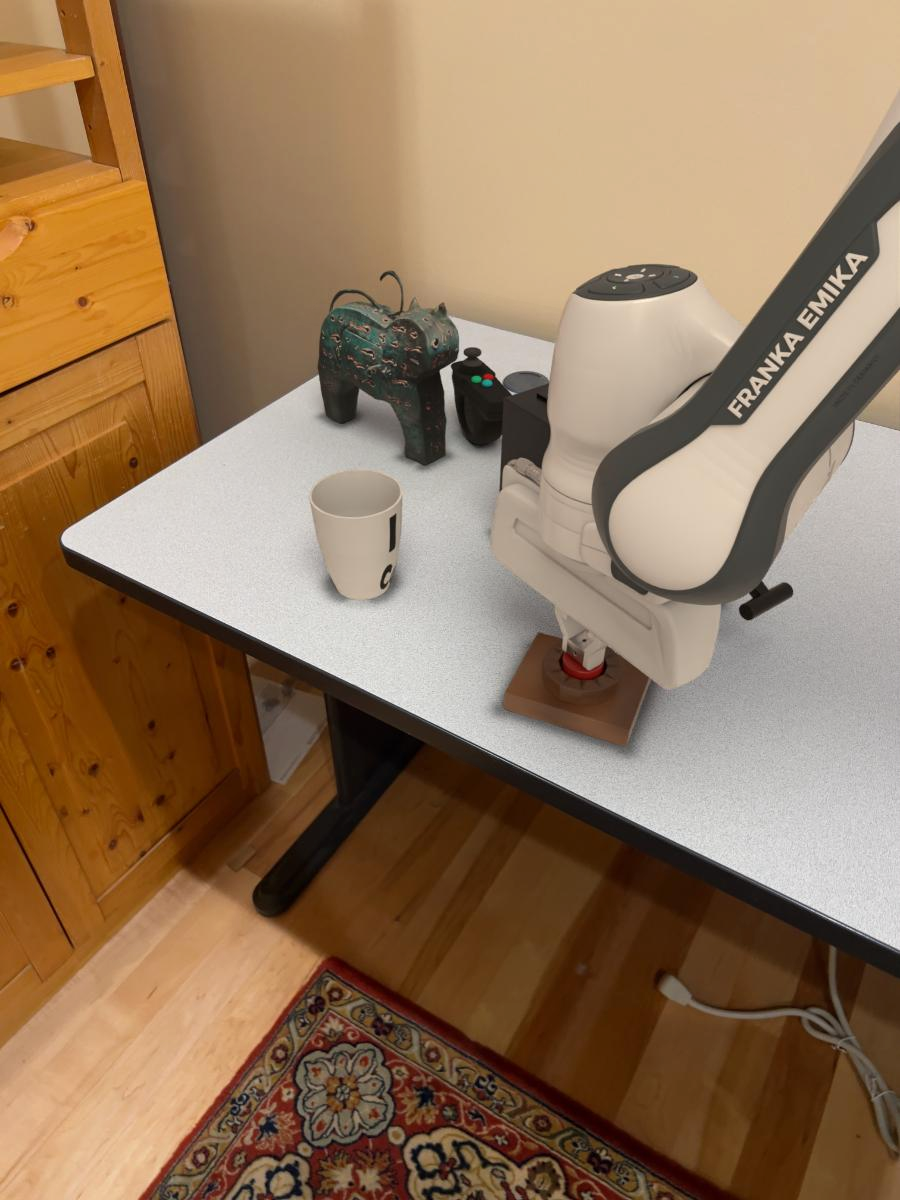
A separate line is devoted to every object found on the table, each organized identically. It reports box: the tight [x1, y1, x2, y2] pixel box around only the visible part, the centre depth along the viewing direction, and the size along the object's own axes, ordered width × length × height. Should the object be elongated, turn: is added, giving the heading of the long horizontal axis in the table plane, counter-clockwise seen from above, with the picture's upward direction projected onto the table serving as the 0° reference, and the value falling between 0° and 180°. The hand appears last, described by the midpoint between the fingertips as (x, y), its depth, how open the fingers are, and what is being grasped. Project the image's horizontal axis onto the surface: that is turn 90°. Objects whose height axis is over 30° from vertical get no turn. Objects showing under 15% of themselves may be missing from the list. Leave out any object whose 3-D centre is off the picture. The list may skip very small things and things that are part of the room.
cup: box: [308, 468, 403, 601], centre depth 80 cm, size 8×8×10 cm
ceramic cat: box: [317, 269, 460, 466], centre depth 99 cm, size 20×6×20 cm, turn 47°
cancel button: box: [562, 652, 604, 680], centre depth 70 cm, size 3×3×2 cm
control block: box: [503, 631, 652, 748], centre depth 71 cm, size 10×8×4 cm
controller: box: [450, 346, 513, 445], centre depth 101 cm, size 4×12×10 cm, turn 21°
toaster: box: [498, 382, 551, 494], centre depth 84 cm, size 10×12×15 cm
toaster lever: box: [738, 580, 794, 622], centre depth 73 cm, size 15×5×2 cm, turn 35°
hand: (582, 657), depth 69 cm, fingers closed, pressing on cancel button
